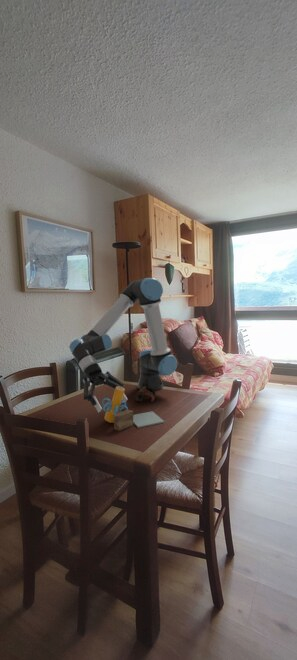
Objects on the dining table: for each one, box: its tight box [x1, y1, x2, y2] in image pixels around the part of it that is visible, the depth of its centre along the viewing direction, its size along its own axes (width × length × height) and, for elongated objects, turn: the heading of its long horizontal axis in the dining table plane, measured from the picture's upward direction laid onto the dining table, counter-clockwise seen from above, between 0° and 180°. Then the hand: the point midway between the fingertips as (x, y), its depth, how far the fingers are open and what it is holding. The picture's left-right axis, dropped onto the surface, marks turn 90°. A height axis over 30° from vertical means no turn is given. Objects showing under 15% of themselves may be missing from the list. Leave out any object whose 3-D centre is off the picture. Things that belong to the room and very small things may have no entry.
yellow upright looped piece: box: [101, 386, 129, 424], centre depth 129 cm, size 12×10×15 cm
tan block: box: [113, 409, 135, 432], centre depth 124 cm, size 3×8×6 cm, turn 137°
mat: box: [133, 411, 165, 429], centre depth 131 cm, size 12×13×1 cm
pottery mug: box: [135, 386, 156, 402], centre depth 156 cm, size 12×10×8 cm
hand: (114, 406), depth 128 cm, fingers open, 13 cm apart
